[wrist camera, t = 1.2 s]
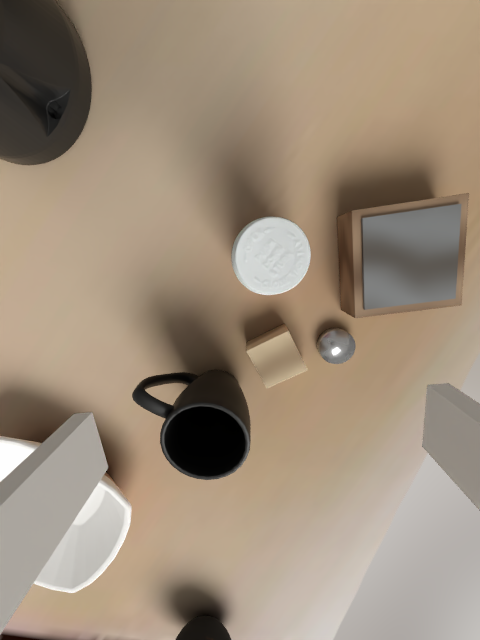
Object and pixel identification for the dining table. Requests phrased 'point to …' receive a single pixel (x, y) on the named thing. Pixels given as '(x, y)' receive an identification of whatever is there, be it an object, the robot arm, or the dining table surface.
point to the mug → (201, 423)
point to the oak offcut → (275, 356)
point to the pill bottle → (270, 255)
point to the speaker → (204, 630)
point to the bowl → (78, 528)
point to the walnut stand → (403, 256)
